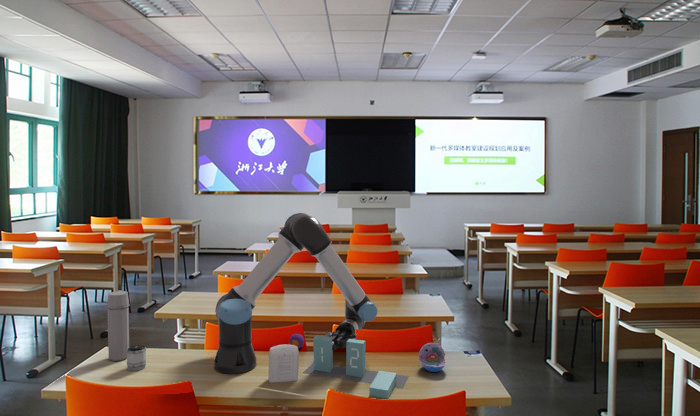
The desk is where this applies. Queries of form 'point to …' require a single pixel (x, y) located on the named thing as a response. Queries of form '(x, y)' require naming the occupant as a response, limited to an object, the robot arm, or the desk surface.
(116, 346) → the water bottle
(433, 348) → the cell model
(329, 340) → the tile
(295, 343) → the kendama
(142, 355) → the camera lens
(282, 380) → the photo printer
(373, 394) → the tile
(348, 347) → the tile
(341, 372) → the mat
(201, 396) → the desk surface
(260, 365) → the desk surface
